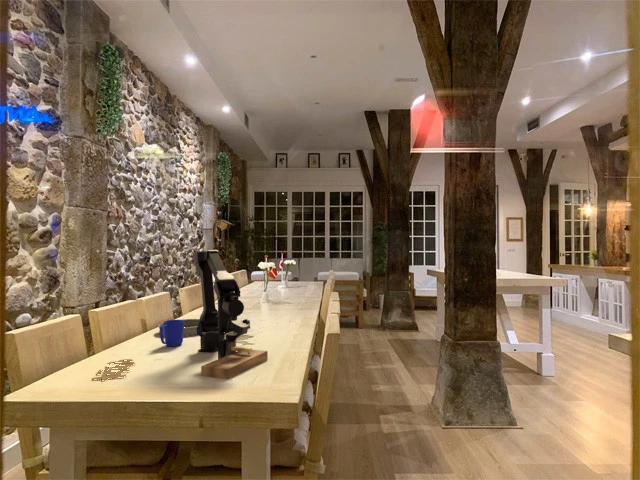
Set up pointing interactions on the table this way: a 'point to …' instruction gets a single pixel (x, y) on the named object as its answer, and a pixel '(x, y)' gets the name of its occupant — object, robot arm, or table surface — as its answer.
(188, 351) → the table surface
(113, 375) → the lettering
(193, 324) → the cake pan
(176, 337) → the mug
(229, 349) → the mallet
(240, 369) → the plank
